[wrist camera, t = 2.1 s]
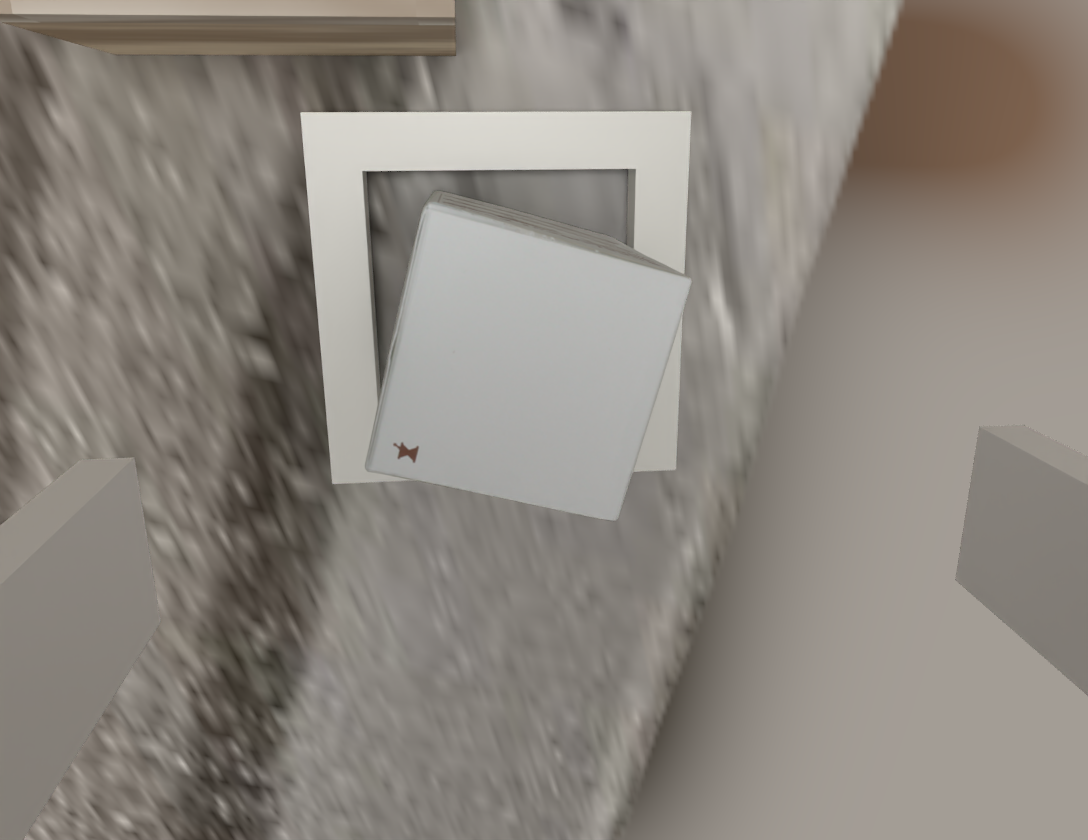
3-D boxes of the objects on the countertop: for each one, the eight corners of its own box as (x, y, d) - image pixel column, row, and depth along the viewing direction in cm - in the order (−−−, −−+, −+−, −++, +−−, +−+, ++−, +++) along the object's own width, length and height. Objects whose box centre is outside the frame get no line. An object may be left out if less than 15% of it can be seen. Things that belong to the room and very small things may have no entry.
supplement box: (564, 407, 36) (617, 535, 24) (389, 363, 35) (353, 476, 23) (616, 233, 34) (702, 278, 22) (433, 181, 33) (418, 197, 21)
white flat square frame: (667, 457, 37) (675, 469, 36) (337, 470, 36) (332, 483, 34) (681, 113, 33) (691, 111, 31) (307, 114, 32) (300, 112, 30)
